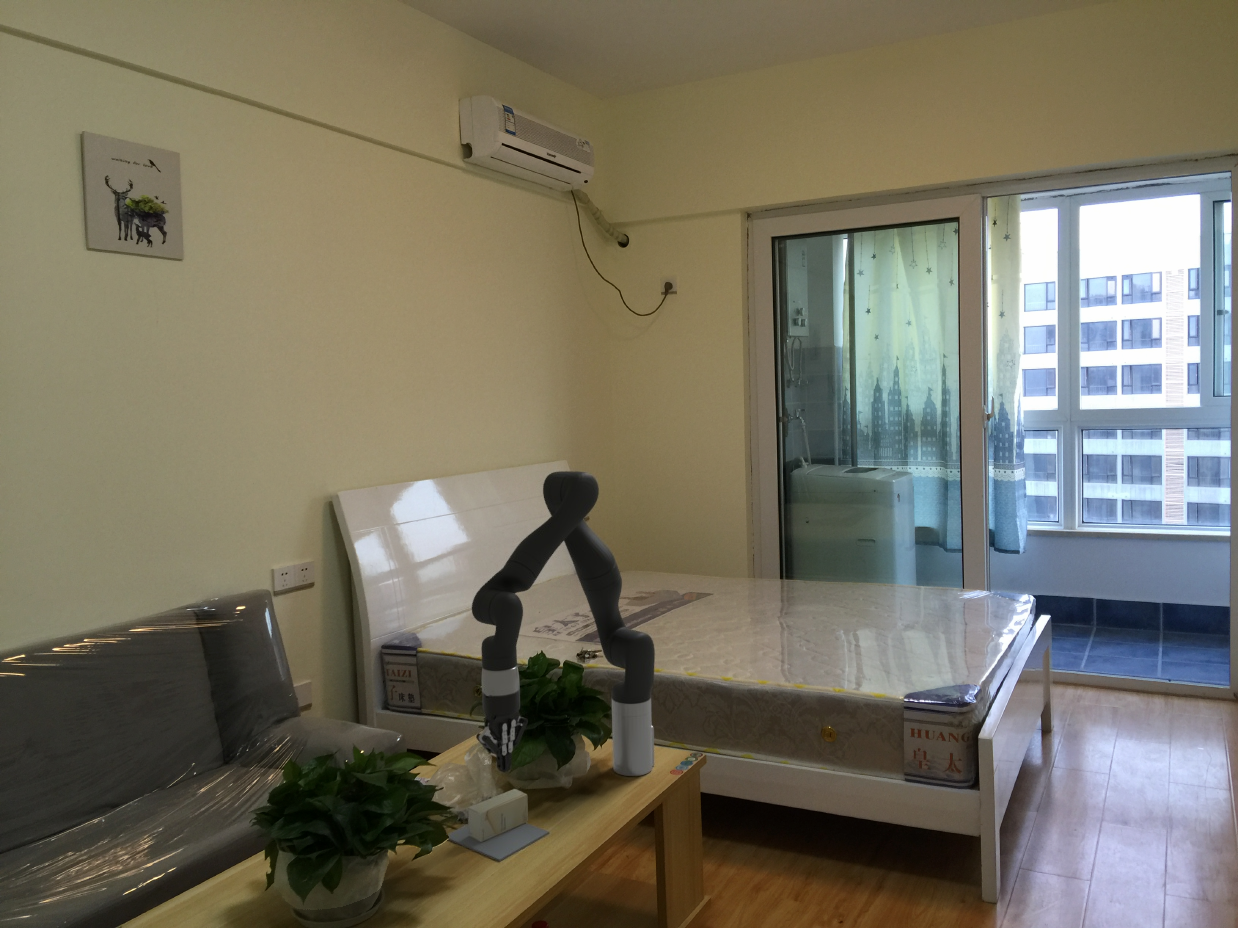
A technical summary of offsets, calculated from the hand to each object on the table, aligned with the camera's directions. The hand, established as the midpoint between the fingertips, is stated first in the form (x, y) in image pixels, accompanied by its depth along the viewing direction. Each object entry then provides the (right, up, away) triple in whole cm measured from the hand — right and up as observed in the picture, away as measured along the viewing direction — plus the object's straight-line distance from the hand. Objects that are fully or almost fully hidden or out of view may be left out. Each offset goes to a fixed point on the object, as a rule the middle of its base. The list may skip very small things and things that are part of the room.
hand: (504, 770), depth 195 cm
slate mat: (-1, -13, -1) cm, 13 cm away
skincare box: (+3, -9, +5) cm, 11 cm away
